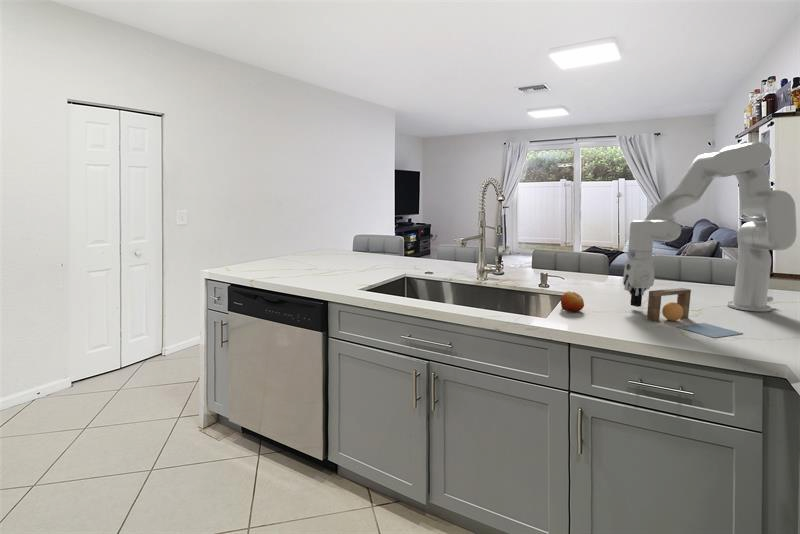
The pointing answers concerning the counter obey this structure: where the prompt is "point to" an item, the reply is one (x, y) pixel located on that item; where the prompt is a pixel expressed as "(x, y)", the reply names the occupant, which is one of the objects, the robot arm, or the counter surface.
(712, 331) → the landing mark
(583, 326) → the counter surface
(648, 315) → the bridge
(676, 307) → the ball
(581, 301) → the fruit
